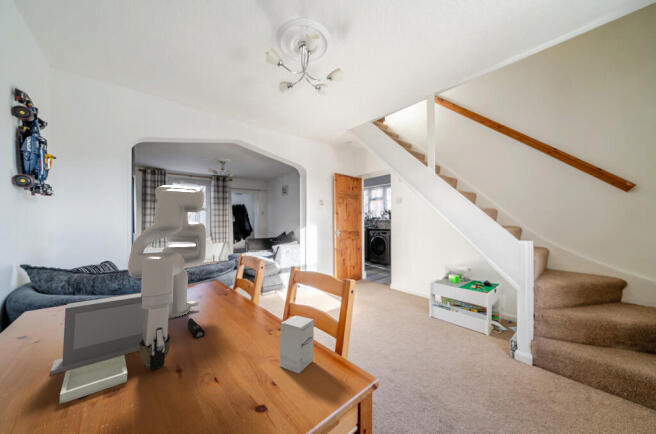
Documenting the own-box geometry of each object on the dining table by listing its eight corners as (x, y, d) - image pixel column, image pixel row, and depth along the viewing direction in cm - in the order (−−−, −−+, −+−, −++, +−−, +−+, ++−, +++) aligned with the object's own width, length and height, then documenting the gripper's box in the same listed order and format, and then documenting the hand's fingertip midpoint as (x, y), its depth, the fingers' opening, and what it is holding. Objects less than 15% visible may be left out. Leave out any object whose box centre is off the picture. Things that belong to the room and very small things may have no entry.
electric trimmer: (195, 324, 99) (195, 316, 99) (205, 337, 87) (205, 328, 87) (185, 326, 96) (185, 318, 96) (193, 340, 84) (194, 331, 85)
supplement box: (299, 374, 65) (300, 327, 66) (278, 366, 69) (279, 322, 69) (313, 361, 71) (314, 319, 72) (294, 354, 75) (295, 314, 76)
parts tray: (124, 362, 70) (124, 354, 70) (126, 381, 61) (127, 372, 61) (65, 379, 62) (66, 371, 62) (59, 404, 53) (60, 394, 53)
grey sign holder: (155, 337, 85) (157, 290, 86) (158, 344, 80) (160, 294, 81) (54, 363, 69) (57, 304, 69) (50, 374, 64) (54, 310, 64)
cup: (153, 377, 63) (154, 346, 64) (130, 373, 65) (132, 343, 65) (176, 361, 71) (177, 334, 71) (155, 358, 72) (156, 331, 72)
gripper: (137, 295, 72) (135, 354, 71) (144, 310, 60) (141, 382, 59) (166, 290, 77) (164, 346, 77) (179, 303, 65) (176, 370, 64)
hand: (154, 361), depth 68 cm, fingers closed on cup, 6 cm apart
